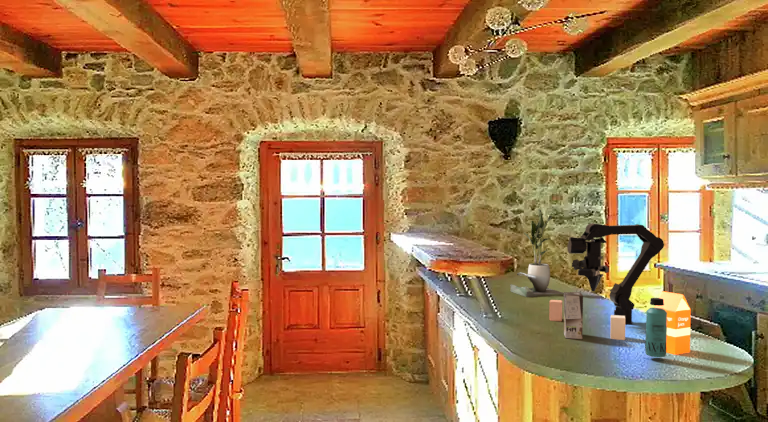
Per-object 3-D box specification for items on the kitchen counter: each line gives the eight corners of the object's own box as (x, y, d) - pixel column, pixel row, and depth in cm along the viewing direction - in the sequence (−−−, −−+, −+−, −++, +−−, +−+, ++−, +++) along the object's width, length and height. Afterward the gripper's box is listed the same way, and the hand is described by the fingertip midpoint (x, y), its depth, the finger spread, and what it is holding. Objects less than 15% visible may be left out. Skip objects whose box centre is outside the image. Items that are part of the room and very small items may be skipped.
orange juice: (674, 354, 213) (675, 295, 213) (652, 349, 221) (653, 291, 221) (690, 352, 217) (691, 293, 216) (668, 346, 225) (669, 289, 224)
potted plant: (526, 297, 328) (527, 209, 327) (510, 291, 346) (510, 208, 345) (564, 295, 334) (565, 209, 332) (546, 290, 352) (547, 208, 350)
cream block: (624, 337, 239) (624, 315, 239) (625, 340, 235) (625, 318, 234) (610, 336, 241) (610, 314, 241) (610, 338, 236) (610, 317, 236)
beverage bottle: (641, 356, 211) (642, 296, 210) (660, 356, 211) (661, 296, 211) (651, 362, 204) (651, 300, 204) (671, 361, 205) (671, 299, 204)
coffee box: (583, 339, 236) (583, 295, 235) (564, 338, 237) (565, 295, 236) (580, 333, 245) (581, 291, 244) (563, 333, 246) (563, 291, 245)
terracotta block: (562, 319, 273) (562, 300, 272) (561, 321, 268) (561, 302, 268) (550, 318, 274) (550, 299, 274) (549, 320, 269) (549, 301, 269)
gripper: (583, 250, 277) (583, 286, 277) (565, 254, 262) (565, 291, 263) (609, 252, 270) (608, 289, 270) (592, 255, 255) (591, 294, 256)
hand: (593, 291), depth 265 cm, fingers closed
